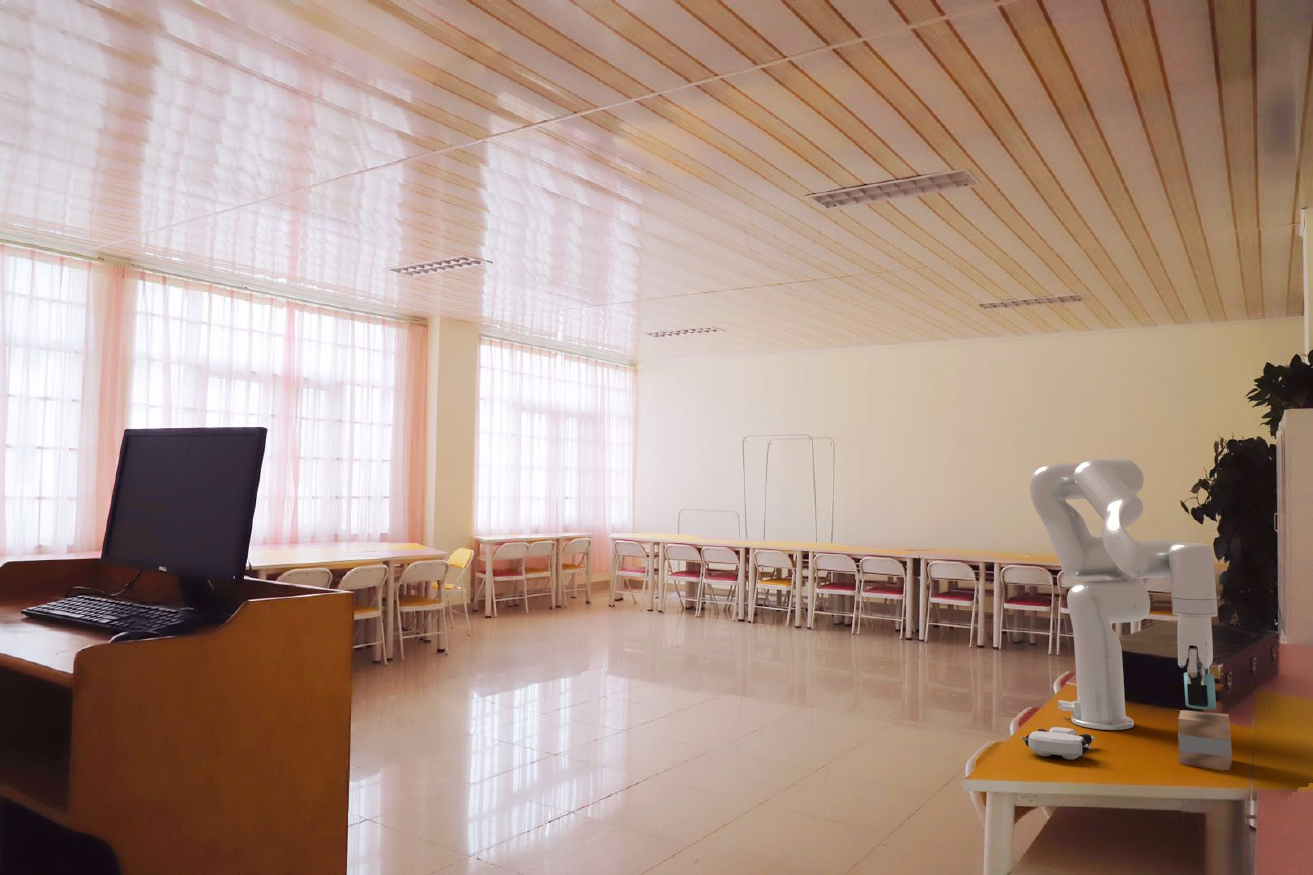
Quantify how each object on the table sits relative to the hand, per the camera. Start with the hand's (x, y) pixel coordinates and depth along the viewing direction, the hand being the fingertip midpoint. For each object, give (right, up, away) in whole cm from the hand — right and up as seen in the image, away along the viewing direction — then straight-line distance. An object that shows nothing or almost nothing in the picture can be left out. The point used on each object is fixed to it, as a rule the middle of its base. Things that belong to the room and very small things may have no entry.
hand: (1200, 701), depth 172 cm
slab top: (0, -6, -1) cm, 6 cm away
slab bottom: (0, -12, -1) cm, 12 cm away
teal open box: (0, -1, 0) cm, 1 cm away
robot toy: (-24, -13, +8) cm, 28 cm away
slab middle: (0, -9, -1) cm, 9 cm away
